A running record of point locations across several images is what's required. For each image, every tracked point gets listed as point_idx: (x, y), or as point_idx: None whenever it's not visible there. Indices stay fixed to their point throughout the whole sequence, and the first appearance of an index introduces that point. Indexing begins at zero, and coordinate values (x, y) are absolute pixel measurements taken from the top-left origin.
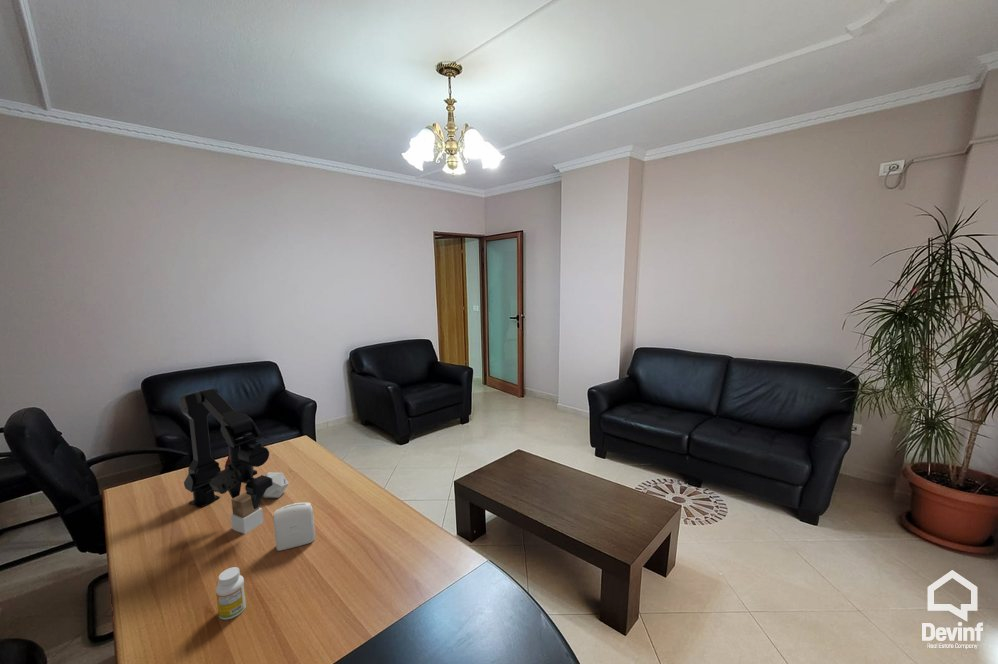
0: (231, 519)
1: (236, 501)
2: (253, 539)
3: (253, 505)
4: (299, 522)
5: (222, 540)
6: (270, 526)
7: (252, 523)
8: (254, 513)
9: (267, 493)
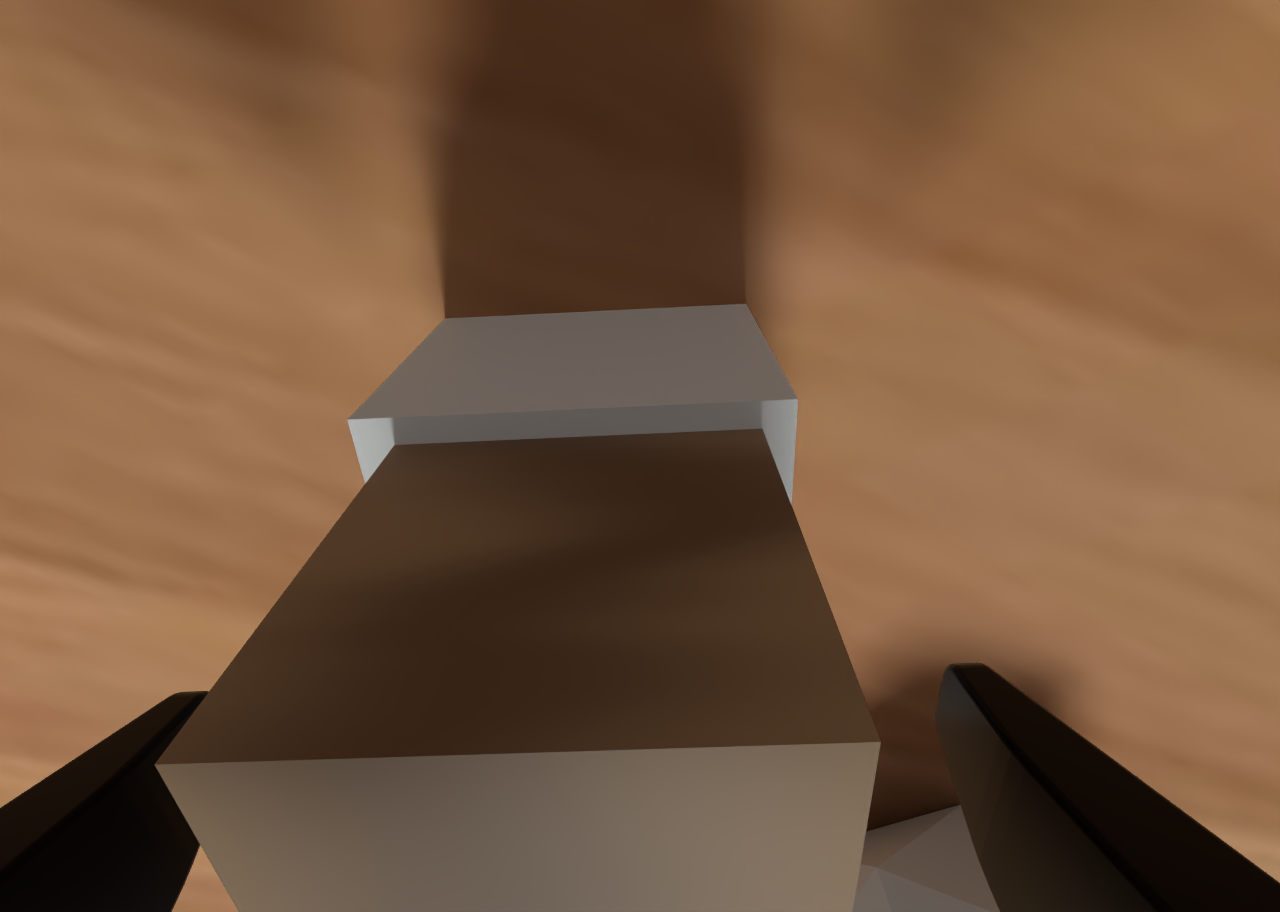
0: (763, 359)
1: (539, 733)
2: (202, 300)
3: (67, 780)
4: None
5: (593, 45)
6: None
7: None
8: None
9: (864, 897)
